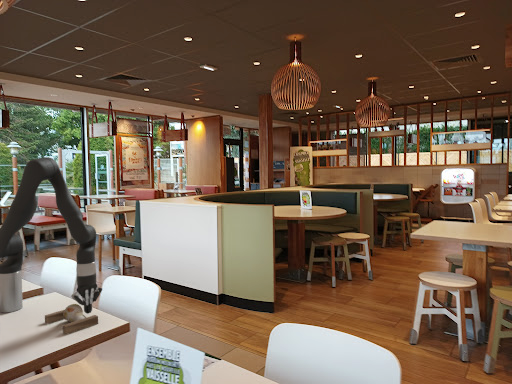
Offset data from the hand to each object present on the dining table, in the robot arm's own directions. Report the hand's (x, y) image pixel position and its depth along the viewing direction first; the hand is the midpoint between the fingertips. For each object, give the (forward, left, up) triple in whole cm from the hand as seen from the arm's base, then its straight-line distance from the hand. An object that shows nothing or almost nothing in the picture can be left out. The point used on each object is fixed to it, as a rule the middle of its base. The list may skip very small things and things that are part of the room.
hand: (88, 312), depth 155 cm
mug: (+1, -5, -3) cm, 6 cm away
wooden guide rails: (-1, -7, -2) cm, 7 cm away
